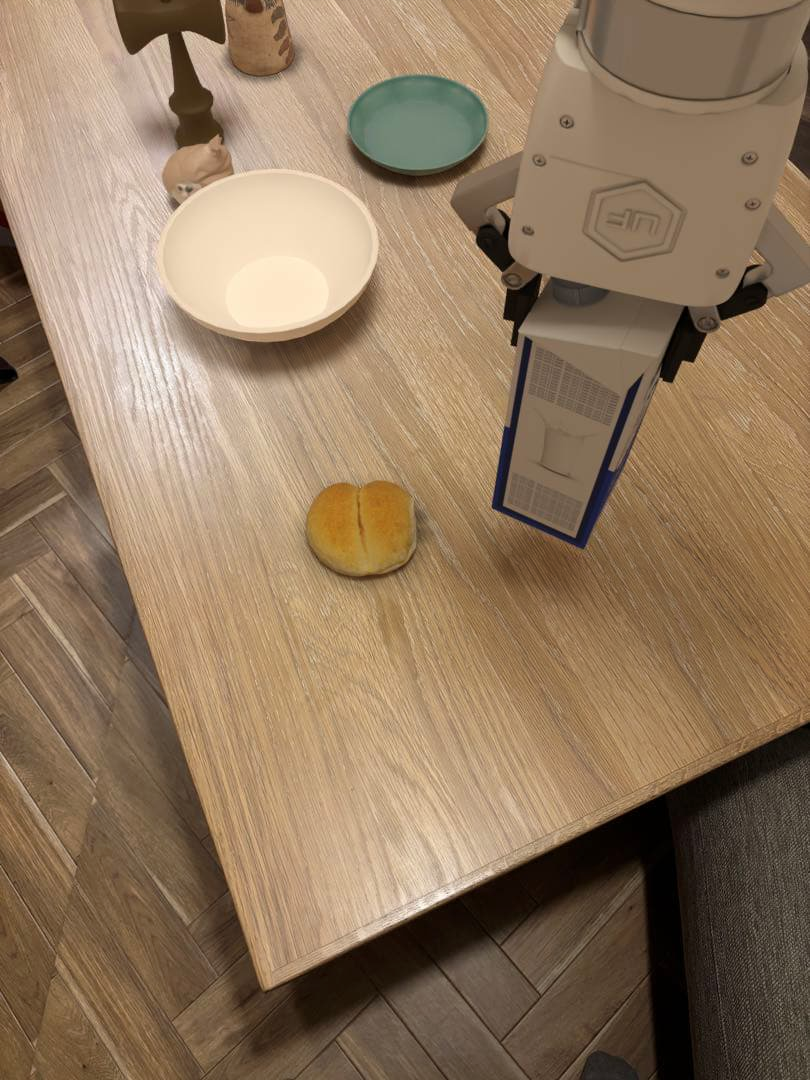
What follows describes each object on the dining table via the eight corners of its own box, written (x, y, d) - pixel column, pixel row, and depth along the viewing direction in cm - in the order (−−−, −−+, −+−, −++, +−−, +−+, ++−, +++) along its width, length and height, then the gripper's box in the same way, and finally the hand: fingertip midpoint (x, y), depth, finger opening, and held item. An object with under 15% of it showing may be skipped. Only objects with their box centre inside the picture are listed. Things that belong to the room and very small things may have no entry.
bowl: (133, 300, 82) (111, 246, 76) (286, 196, 88) (277, 138, 82) (268, 420, 76) (256, 372, 70) (423, 299, 82) (424, 244, 76)
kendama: (250, 152, 91) (212, -48, 73) (158, 167, 90) (97, -32, 72) (241, 115, 94) (203, -87, 76) (152, 129, 93) (92, -72, 75)
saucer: (410, 77, 97) (410, 55, 94) (515, 135, 92) (517, 113, 90) (319, 146, 92) (317, 124, 89) (426, 211, 87) (426, 190, 85)
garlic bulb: (205, 233, 86) (187, 166, 79) (159, 205, 88) (137, 137, 81) (250, 195, 88) (236, 127, 81) (204, 169, 90) (186, 99, 83)
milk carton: (582, 552, 57) (658, 355, 39) (489, 510, 58) (521, 302, 40) (622, 470, 59) (710, 252, 42) (533, 432, 61) (581, 206, 43)
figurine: (294, 35, 100) (280, -77, 89) (294, 75, 97) (280, -37, 86) (232, 38, 100) (211, -75, 89) (230, 78, 97) (208, -34, 86)
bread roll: (307, 493, 73) (302, 468, 69) (414, 489, 73) (414, 464, 69) (306, 583, 69) (301, 561, 65) (418, 579, 69) (419, 557, 65)
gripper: (420, 26, 29) (416, 360, 45) (957, 125, 27) (754, 441, 43) (477, -94, 32) (455, 257, 48) (960, -15, 30) (770, 327, 46)
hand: (596, 342), depth 45 cm, fingers closed on milk carton, 7 cm apart
